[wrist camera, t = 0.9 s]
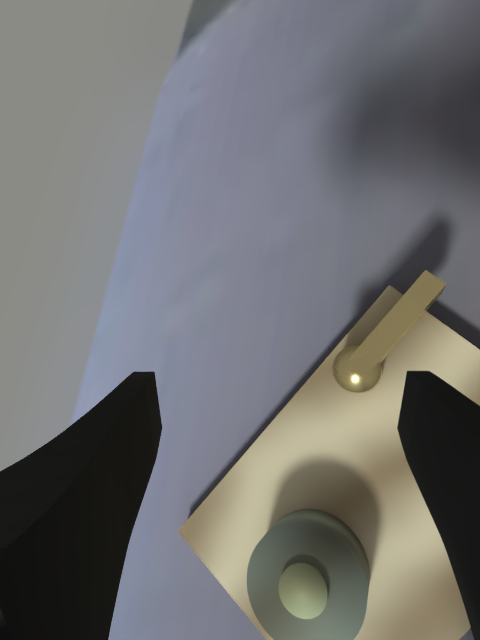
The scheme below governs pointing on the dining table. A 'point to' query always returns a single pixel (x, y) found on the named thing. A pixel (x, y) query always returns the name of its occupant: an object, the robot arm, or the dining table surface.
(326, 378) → the base
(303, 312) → the dining table surface
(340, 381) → the knob
